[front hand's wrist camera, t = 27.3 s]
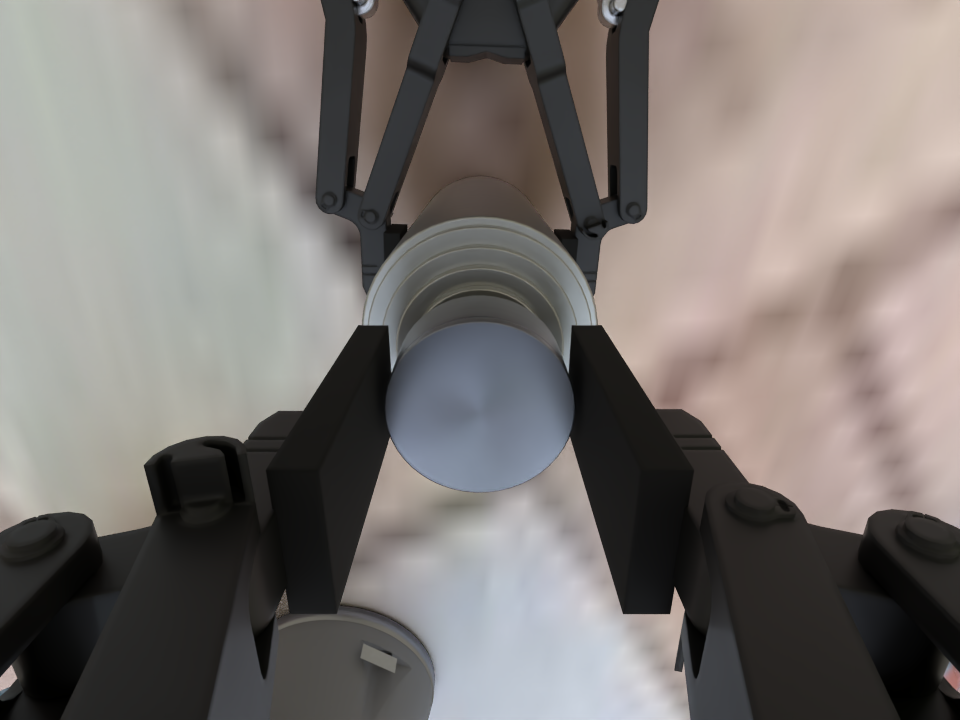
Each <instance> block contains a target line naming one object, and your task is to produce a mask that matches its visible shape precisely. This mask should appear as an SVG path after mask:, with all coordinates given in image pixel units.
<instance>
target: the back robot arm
mask: <svg viewBox="0 0 960 720" xmlns="http://www.w3.org/2000/svg"><path fill="white" fill-rule="evenodd" d="M403 1H404V3H405V5H406V6H407V8H408V10H409V11H410V13H411V14H412V16H413V18H414V19H415V21H416V22H417V24H418V26H419V27H418V30H417V33H416V36H415V39H414V42H413V45H412V48H411V51H410V54H409V57H408V62H407V68H406V71H405V74H404V77H403V80H402V83H401V86H400V89H399V92H398V95H397V98H396V101H395V104H394V107H393V110H392V113H391V116H390V118H389V121H388V124H387V127H386V130H385V133H384V136H383V139H382V142H381V145H380V148H379V151H378V154H377V157H376V160H375V163H374V166H373V169H372V172H371V174H370V177H369V180H368V183H367V186H366V189H365V192H363V191H361V190H358V189H356V188H355V183H356V171H357V159H358V146H359V134H360V122H361V109H362V97H363V85H364V72H365V60H366V47H367V32H366V22H365V19H368V18H370V17H372V16H373V15H374V14H375V13H376V11H377V8H378V0H321V3H322V7H323V11H324V15H325V19H326V22H325V39H324V57H323V75H322V93H321V111H320V128H319V146H318V164H317V182H316V204H317V205H318V207H319V209H320V210H322V211H323V212H325V213H327V214H335V215H338V216H340V217H343V218H346V219H348V220H350V221H352V222H353V223H354V224H355V225H356V226H357V228H358V229H359V232H360V237H361V259H362V280H363V288H364V290H365V292H366V294H368V291H369V288H370V286H371V284H372V281H373V279H374V277H375V275H376V274H377V272H378V271H379V269H380V267H381V266H382V264H383V263H384V262H385V260H386V259H387V258H388V256H389V255H390V254H391V252H392V251H393V250H394V248H395V247H396V246H397V244H398V243H399V242H400V240H401V239H402V238H403V236H404V235H405V234H406V233H407V225H406V224H392V225H391V217H392V215H393V210H394V207H395V204H396V201H397V199H398V196H399V193H400V190H401V188H402V185H403V182H404V179H405V176H406V174H407V171H408V168H409V165H410V163H411V160H412V157H413V154H414V152H415V149H416V146H417V143H418V141H419V138H420V135H421V132H422V130H423V127H424V124H425V121H426V118H427V116H428V113H429V110H430V107H431V105H432V102H433V99H434V96H435V94H436V91H437V88H438V86H439V84H440V82H441V79H442V77H443V74H444V72H445V69H446V66H447V63H448V61H449V59H450V60H451V62H466V63H469V62H473V61H476V60H480V59H484V58H489V59H491V60H494V61H497V62H500V63H503V64H521V65H522V63H523V62H524V65H525V69H526V72H527V75H528V79H529V82H530V85H531V87H532V89H533V92H534V95H535V99H536V102H537V106H538V109H539V113H540V116H541V120H542V123H543V127H544V130H545V134H546V137H547V140H548V144H549V147H550V151H551V154H552V158H553V161H554V165H555V168H556V172H557V175H558V179H559V182H560V185H561V189H562V192H563V196H564V199H565V203H566V206H567V210H568V213H569V217H570V220H571V231H570V230H559V229H554V234H555V235H556V237H557V238H558V239H559V241H560V242H561V243H562V245H563V246H564V247H565V249H566V250H567V251H568V253H569V254H570V255H571V257H572V258H573V259H574V261H575V262H576V263H577V264H578V266H579V268H580V269H581V271H582V273H583V274H584V276H585V278H586V280H587V282H588V284H589V287H590V289H591V291H592V294H593V296H594V294H595V288H596V279H597V270H598V261H599V252H600V244H601V240H602V238H603V237H604V235H605V234H606V233H607V232H608V231H609V230H611V229H613V228H616V227H619V226H622V225H625V224H628V223H629V224H635V223H638V222H640V221H641V220H642V219H643V218H644V217H645V215H646V212H647V176H648V71H649V30H650V27H651V24H652V21H653V17H654V14H655V11H656V8H657V5H658V2H659V0H597V2H598V19H599V21H600V23H601V24H602V25H603V26H605V27H607V28H609V32H608V38H607V45H606V85H607V148H608V197H606V198H603V199H599V196H598V192H597V188H596V184H595V181H594V177H593V173H592V169H591V166H590V162H589V158H588V154H587V151H586V147H585V143H584V139H583V136H582V132H581V128H580V124H579V121H578V117H577V113H576V109H575V106H574V102H573V98H572V94H571V91H570V87H569V83H568V79H567V75H566V66H565V60H564V56H563V52H562V49H561V45H560V41H559V37H558V33H557V29H558V28H559V27H560V25H561V24H562V22H563V21H564V20H565V18H566V17H567V15H568V14H569V13H570V11H571V10H572V8H573V7H574V6H575V4H576V3H577V1H578V0H403Z"/></svg>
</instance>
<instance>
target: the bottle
mask: <svg viewBox="0 0 960 720" xmlns="http://www.w3.org/2000/svg"><path fill="white" fill-rule="evenodd" d="M479 295H485V296H494V297H499V298H503V299H507V300H510V301H512V302H515V303H517V304H519V305H521V306H523V307H525V308H527V309H528V310H529V311H531V312H532V313H534V314H535V315H536V316H537V317H538V318H539V319H540V320H541V321H543V322H544V324H545V325H546V326H547V327H548V329H549V330H550V331H551V333H552V335H553V336H554V338H555V340H556V342H557V344H558V347H559V349H560V352H561V355H562V357H563V360H564V363H565V365H566V368H567V371H568V373H569V358H570V342H571V327H572V325H598V320H597V312H596V305H595V302H594V298H593V294H592V291H591V289H590V287H589V284H588V282H587V280H586V278H585V276H584V274H583V273H582V271H581V269H580V268H579V266H578V264H577V263H576V262H575V261H574V259H573V258H572V257H571V255H570V254H569V253H568V251H567V250H566V249H565V247H564V246H563V245H562V243H561V242H560V241H559V239H558V238H557V237H556V235H555V234H554V233H553V231H552V230H551V229H550V227H549V226H548V225H547V224H546V222H545V221H544V220H543V218H542V217H541V216H540V214H539V213H538V212H537V210H536V209H535V208H534V206H533V205H532V204H531V202H530V201H529V200H528V199H527V197H526V196H525V195H524V194H523V193H522V192H521V191H520V190H518V189H517V188H515V187H514V186H513V185H511V184H509V183H507V182H505V181H502V180H500V179H497V178H492V177H485V176H475V177H468V178H463V179H460V180H457V181H455V182H453V183H451V184H449V185H447V186H446V187H445V188H443V189H442V190H440V191H439V192H438V193H437V194H436V195H435V196H434V197H433V199H432V200H431V201H430V202H429V203H428V205H427V206H426V207H425V209H424V210H423V211H422V213H421V214H420V215H419V217H418V218H417V219H416V221H415V222H414V223H413V225H412V226H411V227H410V229H409V230H408V231H407V233H406V234H405V235H404V236H403V238H402V239H401V240H400V242H399V243H398V244H397V246H396V247H395V248H394V250H393V251H392V252H391V254H390V255H389V256H388V258H387V259H386V260H385V262H384V263H383V264H382V266H381V267H380V269H379V271H378V272H377V274H376V275H375V277H374V279H373V281H372V284H371V286H370V288H369V291H368V294H367V297H366V301H365V305H364V310H363V318H362V325H388V327H389V342H390V358H391V373H392V370H393V368H394V365H395V362H396V360H397V357H398V354H399V351H400V349H401V346H402V343H403V341H404V339H405V338H406V336H407V334H408V332H409V331H410V330H411V328H412V327H413V326H414V324H415V323H416V322H417V321H418V320H419V319H420V318H421V317H422V316H424V315H425V314H426V313H427V312H429V311H430V310H432V309H433V308H435V307H437V306H439V305H440V304H443V303H445V302H447V301H450V300H453V299H457V298H460V297H466V296H479Z"/></svg>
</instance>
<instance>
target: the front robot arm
mask: <svg viewBox="0 0 960 720" xmlns="http://www.w3.org/2000/svg"><path fill="white" fill-rule="evenodd" d="M390 376H391V358H390V342H389V327H388V325H358V327H357V328H356V330H355V331H354V333H353V335H352V336H351V338H350V339H349V341H348V342H347V344H346V345H345V347H344V349H343V350H342V352H341V353H340V355H339V356H338V358H337V359H336V361H335V363H334V364H333V366H332V367H331V369H330V370H329V372H328V374H327V375H326V377H325V378H324V380H323V381H322V383H321V384H320V386H319V388H318V389H317V391H316V392H315V394H314V395H313V397H312V398H311V400H310V402H309V403H308V405H307V406H306V408H305V409H304V411H278V412H276V413H275V414H273V415H271V416H270V417H268V418H267V419H265V420H263V421H262V422H260V423H259V424H258V425H257V427H256V428H255V429H254V431H253V432H252V433H251V434H250V436H249V437H248V440H246V441H245V442H244V444H243V443H242V442H240V441H239V440H238V439H235V438H230V437H226V436H205V437H200V438H195V439H190V440H186V441H183V442H180V443H177V444H174V445H172V446H169V447H167V448H165V449H164V450H162V451H160V452H158V453H157V454H155V455H153V456H152V457H151V458H150V459H149V460H148V462H147V463H146V464H145V465H144V468H145V472H146V476H147V480H148V483H149V487H150V491H151V495H152V499H153V502H154V506H155V510H156V514H157V516H156V518H155V520H154V522H153V524H152V526H149V527H146V528H142V529H137V530H132V531H127V532H122V533H117V534H112V535H107V536H102V537H97V534H96V530H95V527H94V524H93V521H92V520H91V519H90V518H88V517H87V516H86V515H84V514H80V513H73V512H63V513H53V514H45V515H40V516H38V517H33V518H30V519H27V520H24V521H22V522H21V523H19V524H17V525H15V526H13V527H10V528H8V529H6V530H4V531H2V532H1V533H0V677H1V676H2V675H3V673H4V672H5V671H6V670H7V669H8V668H9V667H10V666H11V664H12V667H13V669H14V671H15V673H16V676H17V680H16V681H15V682H14V683H13V684H12V685H11V687H9V688H6V689H4V690H2V691H0V720H428V718H429V714H430V710H431V706H432V702H433V694H434V681H435V675H434V668H433V665H432V661H431V659H430V656H429V655H428V653H427V651H426V649H425V648H424V646H423V645H422V644H421V643H420V641H419V640H418V639H417V638H416V637H415V636H414V635H413V634H412V633H411V632H409V631H408V630H407V629H406V628H404V627H403V626H401V625H400V624H398V623H397V622H395V621H393V620H391V619H389V618H387V617H385V616H383V615H380V614H378V613H375V612H372V611H368V610H364V609H361V608H355V607H348V606H339V605H340V602H341V598H342V595H343V592H344V588H345V585H346V582H347V578H348V575H349V572H350V568H351V565H352V562H353V558H354V555H355V552H356V548H357V545H358V542H359V538H360V535H361V532H362V528H363V525H364V522H365V518H366V515H367V512H368V508H369V505H370V501H371V498H372V495H373V491H374V488H375V485H376V481H377V478H378V475H379V471H380V468H381V465H382V461H383V458H384V455H385V451H386V448H387V445H388V441H389V438H390V435H389V432H388V429H387V425H386V421H385V413H384V399H385V392H386V388H387V384H388V381H389V378H390ZM569 376H570V379H571V381H572V385H573V389H574V393H575V403H576V409H575V419H574V424H573V428H572V431H571V434H570V438H571V441H572V445H573V448H574V451H575V455H576V458H577V461H578V465H579V468H580V471H581V475H582V478H583V481H584V485H585V488H586V491H587V495H588V498H589V501H590V505H591V508H592V511H593V515H594V518H595V522H596V525H597V528H598V532H599V535H600V538H601V542H602V545H603V548H604V552H605V555H606V558H607V562H608V565H609V568H610V572H611V575H612V578H613V582H614V585H615V588H616V592H617V595H618V598H619V602H620V605H621V608H622V612H623V614H670V611H671V606H672V600H673V594H674V588H676V590H677V592H678V595H679V597H680V599H681V602H682V604H683V606H684V608H685V613H684V618H683V624H682V629H681V635H680V640H679V646H678V651H677V657H676V663H675V670H674V671H679V672H682V669H683V663H684V666H685V675H686V684H687V692H688V701H689V710H690V719H691V720H960V693H959V692H958V691H957V690H956V689H954V688H953V687H952V686H951V684H950V683H949V682H948V681H947V680H946V679H945V677H944V674H945V671H946V669H947V667H948V664H949V662H951V664H952V665H953V666H954V667H955V668H956V669H957V670H958V671H959V672H960V529H958V528H957V527H954V526H952V525H950V524H948V523H945V522H943V521H941V520H940V519H938V518H936V517H933V516H930V515H927V514H925V515H923V514H922V513H918V512H914V511H903V510H894V509H891V510H884V511H877V512H876V513H874V514H873V515H872V516H870V517H869V518H868V521H867V524H866V527H865V530H864V534H863V535H861V534H856V533H851V532H846V531H841V530H835V529H830V528H825V527H820V526H816V525H813V524H809V523H807V521H806V519H805V517H804V515H803V513H802V512H801V511H800V510H799V508H798V507H797V506H796V505H795V503H793V502H792V501H790V500H789V499H787V498H786V497H784V496H783V495H782V494H780V493H778V492H775V491H773V490H770V489H768V488H766V487H763V486H759V485H755V484H750V483H749V482H748V481H747V480H746V479H745V477H744V476H743V475H742V473H741V472H740V471H739V470H738V468H737V467H736V466H735V464H734V463H733V462H732V461H731V459H730V458H729V457H728V455H727V454H726V453H725V451H724V450H721V446H720V445H719V444H718V442H717V441H716V440H715V439H714V438H712V435H711V433H710V432H709V431H708V430H707V428H706V427H705V426H704V424H703V423H702V422H701V421H700V420H698V419H697V418H695V417H693V416H692V415H690V414H689V413H687V412H685V411H684V410H682V409H655V408H654V406H653V405H652V403H651V402H650V400H649V398H648V397H647V395H646V394H645V392H644V391H643V389H642V388H641V386H640V384H639V383H638V381H637V380H636V378H635V377H634V375H633V374H632V372H631V370H630V369H629V367H628V366H627V364H626V363H625V361H624V359H623V358H622V356H621V355H620V353H619V352H618V350H617V349H616V347H615V345H614V344H613V342H612V341H611V339H610V338H609V336H608V335H607V333H606V331H605V330H604V328H603V327H602V325H572V327H571V342H570V358H569ZM285 588H286V594H287V600H288V605H289V611H290V613H289V614H286V615H284V616H282V617H280V618H278V619H277V618H276V613H275V611H276V609H277V607H278V604H279V602H280V600H281V597H282V595H283V593H284V590H285Z"/></svg>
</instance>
